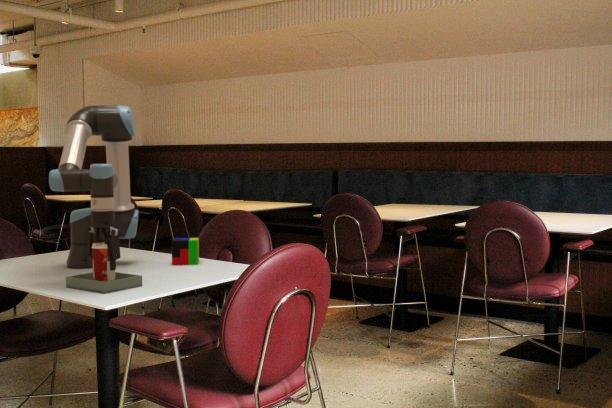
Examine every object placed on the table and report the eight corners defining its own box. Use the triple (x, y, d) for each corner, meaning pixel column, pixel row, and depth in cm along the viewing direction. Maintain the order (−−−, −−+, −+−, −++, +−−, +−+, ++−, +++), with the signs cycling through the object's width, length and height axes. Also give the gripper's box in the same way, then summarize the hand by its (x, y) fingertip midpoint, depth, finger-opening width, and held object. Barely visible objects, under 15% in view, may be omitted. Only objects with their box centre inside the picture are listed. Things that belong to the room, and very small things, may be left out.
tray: (66, 287, 227) (65, 276, 227) (103, 280, 240) (103, 270, 240) (105, 293, 216) (104, 282, 216) (142, 285, 229) (142, 275, 229)
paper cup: (109, 287, 223) (108, 244, 222) (87, 286, 225) (86, 244, 224) (120, 283, 231) (119, 242, 230) (99, 282, 233) (98, 241, 232)
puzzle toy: (174, 262, 283) (174, 238, 282) (199, 261, 284) (198, 237, 283) (172, 265, 273) (171, 240, 272) (197, 265, 274) (196, 240, 273)
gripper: (74, 209, 229) (76, 277, 230) (113, 212, 218) (114, 283, 219) (92, 208, 235) (94, 274, 236) (131, 210, 224) (132, 280, 225)
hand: (104, 278), depth 228 cm, fingers closed on paper cup, 6 cm apart
